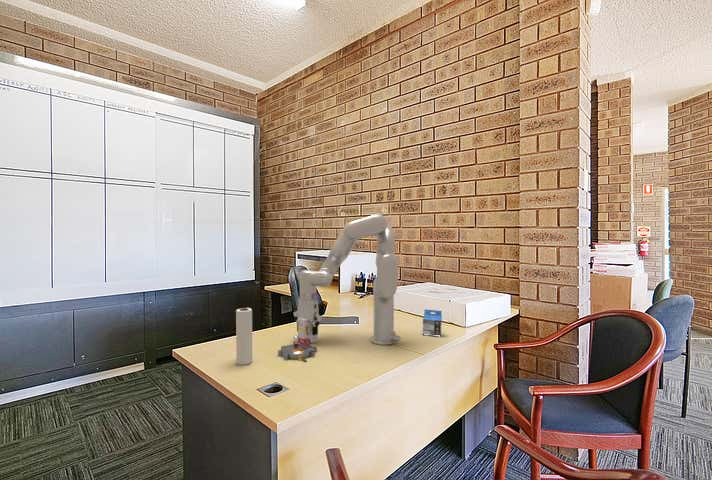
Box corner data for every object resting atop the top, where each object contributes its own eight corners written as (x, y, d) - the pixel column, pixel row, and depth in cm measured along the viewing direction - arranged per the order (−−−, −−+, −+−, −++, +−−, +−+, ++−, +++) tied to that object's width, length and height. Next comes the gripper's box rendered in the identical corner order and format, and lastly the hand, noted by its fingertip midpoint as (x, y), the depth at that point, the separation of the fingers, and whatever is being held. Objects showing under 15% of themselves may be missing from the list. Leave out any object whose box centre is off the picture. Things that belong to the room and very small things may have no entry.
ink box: (304, 345, 163) (303, 319, 163) (297, 343, 167) (297, 317, 166) (318, 341, 169) (318, 316, 169) (311, 338, 173) (311, 314, 172)
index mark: (302, 360, 145) (302, 359, 145) (305, 359, 145) (305, 359, 145) (304, 362, 143) (304, 361, 143) (307, 361, 143) (307, 361, 143)
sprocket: (312, 345, 163) (312, 332, 163) (320, 358, 147) (320, 343, 147) (276, 349, 158) (276, 335, 158) (280, 362, 142) (279, 347, 142)
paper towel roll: (243, 366, 138) (243, 311, 137) (233, 363, 141) (232, 309, 141) (257, 360, 144) (257, 308, 144) (247, 357, 147) (247, 306, 147)
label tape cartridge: (422, 335, 179) (422, 310, 178) (423, 333, 182) (424, 309, 182) (440, 337, 175) (440, 312, 175) (441, 335, 179) (441, 310, 179)
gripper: (327, 297, 165) (326, 334, 166) (300, 293, 175) (299, 327, 176) (316, 300, 159) (315, 338, 160) (288, 295, 169) (288, 331, 170)
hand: (307, 332), depth 168 cm, fingers open, 9 cm apart
